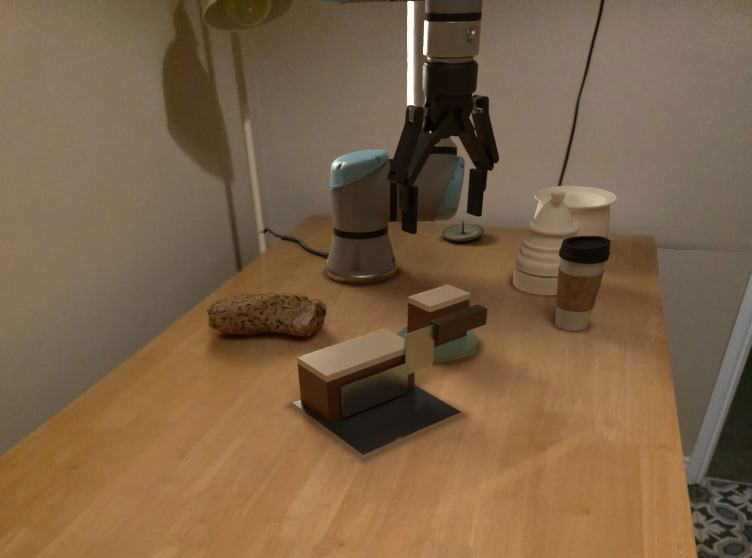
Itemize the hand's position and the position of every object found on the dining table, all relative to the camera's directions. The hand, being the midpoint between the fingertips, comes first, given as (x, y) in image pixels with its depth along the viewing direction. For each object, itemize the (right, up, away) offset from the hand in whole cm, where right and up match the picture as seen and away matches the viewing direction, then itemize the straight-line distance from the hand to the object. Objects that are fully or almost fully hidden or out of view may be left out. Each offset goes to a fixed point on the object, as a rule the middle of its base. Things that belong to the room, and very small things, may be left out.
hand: (442, 223), depth 104 cm
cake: (-13, -27, -2) cm, 30 cm away
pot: (+34, +15, +50) cm, 62 cm away
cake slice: (0, -15, +12) cm, 19 cm away
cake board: (-11, -30, -5) cm, 32 cm away
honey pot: (+25, +2, +35) cm, 43 cm away
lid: (+11, +22, +59) cm, 64 cm away
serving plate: (0, -16, +12) cm, 20 cm away
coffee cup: (+26, -11, +18) cm, 34 cm away
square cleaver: (-5, -26, -2) cm, 27 cm away
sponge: (-30, -12, +18) cm, 37 cm away
